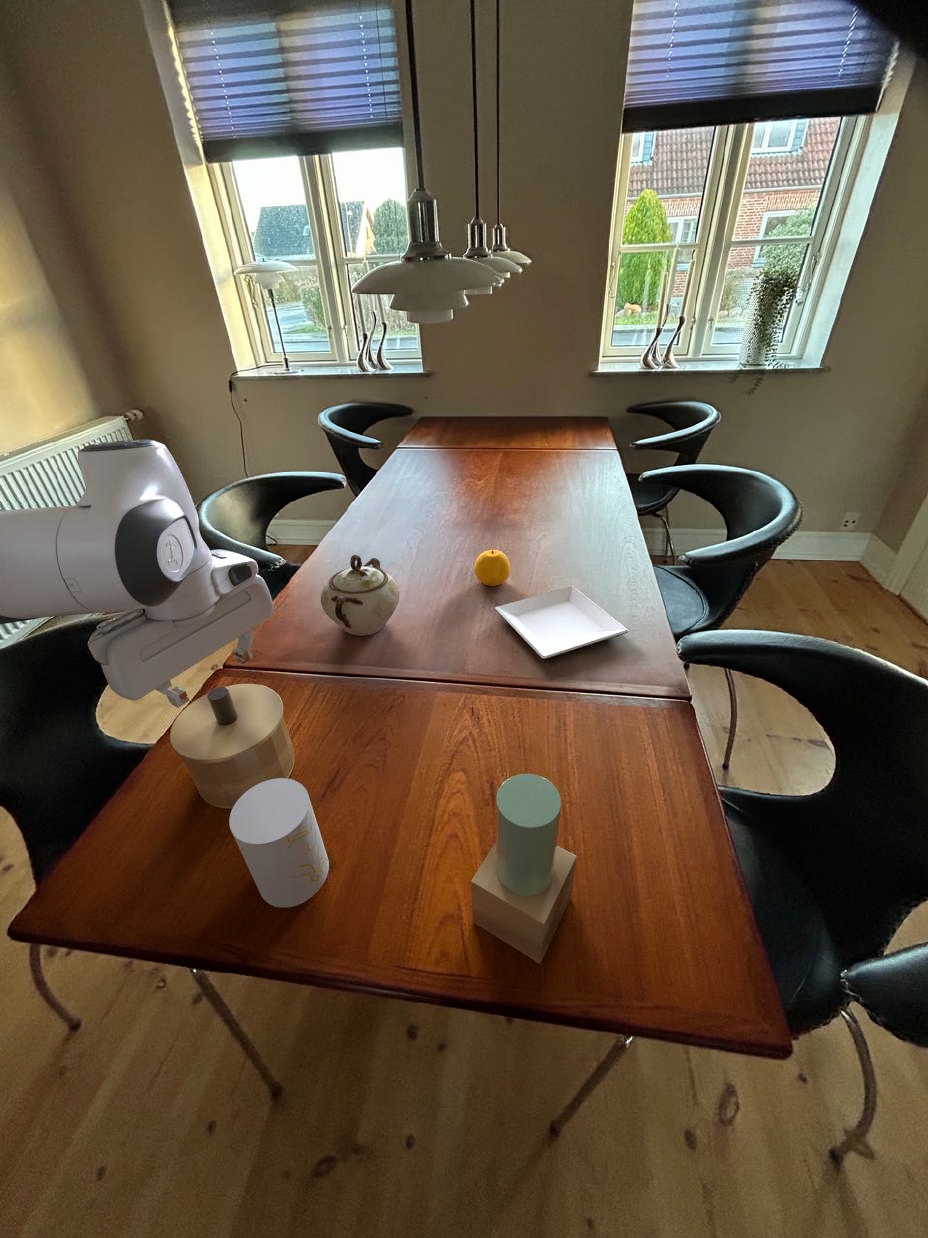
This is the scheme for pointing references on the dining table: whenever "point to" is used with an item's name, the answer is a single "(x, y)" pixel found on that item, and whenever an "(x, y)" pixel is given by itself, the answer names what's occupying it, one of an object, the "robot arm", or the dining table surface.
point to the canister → (526, 833)
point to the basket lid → (226, 723)
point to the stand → (522, 906)
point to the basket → (244, 770)
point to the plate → (560, 621)
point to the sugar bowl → (360, 597)
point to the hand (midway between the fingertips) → (214, 680)
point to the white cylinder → (280, 841)
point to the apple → (492, 568)
